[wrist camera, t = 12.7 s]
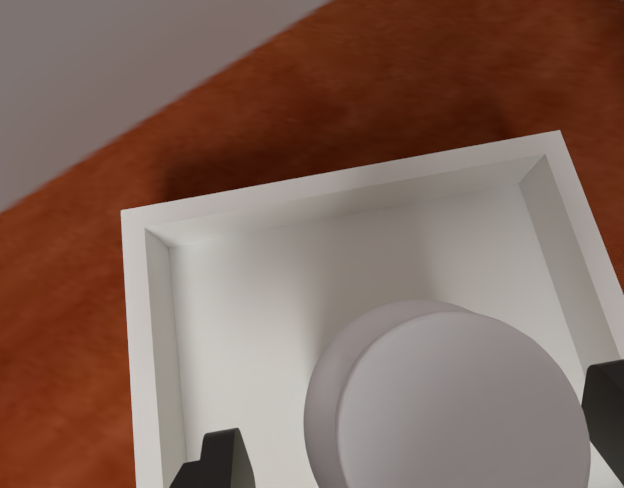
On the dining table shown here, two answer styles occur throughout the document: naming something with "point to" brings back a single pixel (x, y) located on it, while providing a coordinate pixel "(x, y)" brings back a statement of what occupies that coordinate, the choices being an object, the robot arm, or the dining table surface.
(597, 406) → the robot arm
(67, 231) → the dining table surface
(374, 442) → the supplement bottle
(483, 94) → the dining table surface
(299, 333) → the tray
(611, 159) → the dining table surface
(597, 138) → the dining table surface
